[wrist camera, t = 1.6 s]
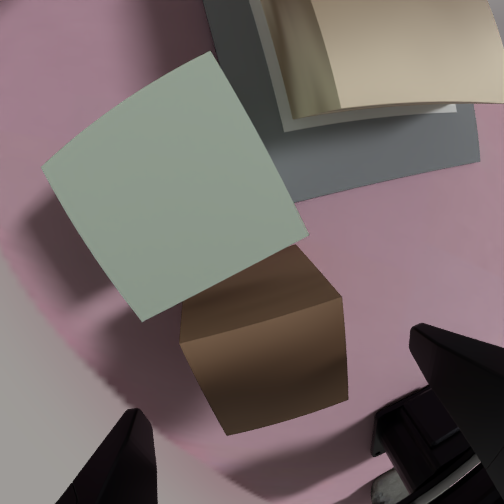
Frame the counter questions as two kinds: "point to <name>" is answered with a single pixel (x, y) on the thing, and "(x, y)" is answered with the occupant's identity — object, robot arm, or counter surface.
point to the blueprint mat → (331, 119)
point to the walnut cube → (267, 343)
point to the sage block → (174, 189)
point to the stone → (389, 489)
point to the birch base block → (385, 53)
